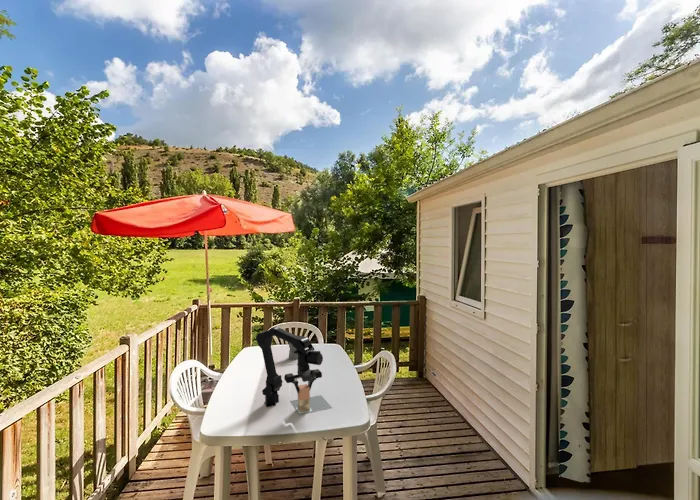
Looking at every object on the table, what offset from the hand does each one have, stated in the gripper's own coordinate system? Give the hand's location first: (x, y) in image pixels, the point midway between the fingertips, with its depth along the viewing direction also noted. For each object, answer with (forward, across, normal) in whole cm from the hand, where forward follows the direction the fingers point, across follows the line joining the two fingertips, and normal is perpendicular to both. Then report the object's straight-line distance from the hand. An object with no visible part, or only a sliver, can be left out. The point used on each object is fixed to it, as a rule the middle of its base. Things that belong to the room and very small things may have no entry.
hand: (303, 392), depth 192 cm
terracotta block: (+3, 0, 0) cm, 3 cm away
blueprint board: (+10, +5, +4) cm, 12 cm away
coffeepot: (+10, +20, +87) cm, 90 cm away
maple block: (+9, 0, 0) cm, 9 cm away
